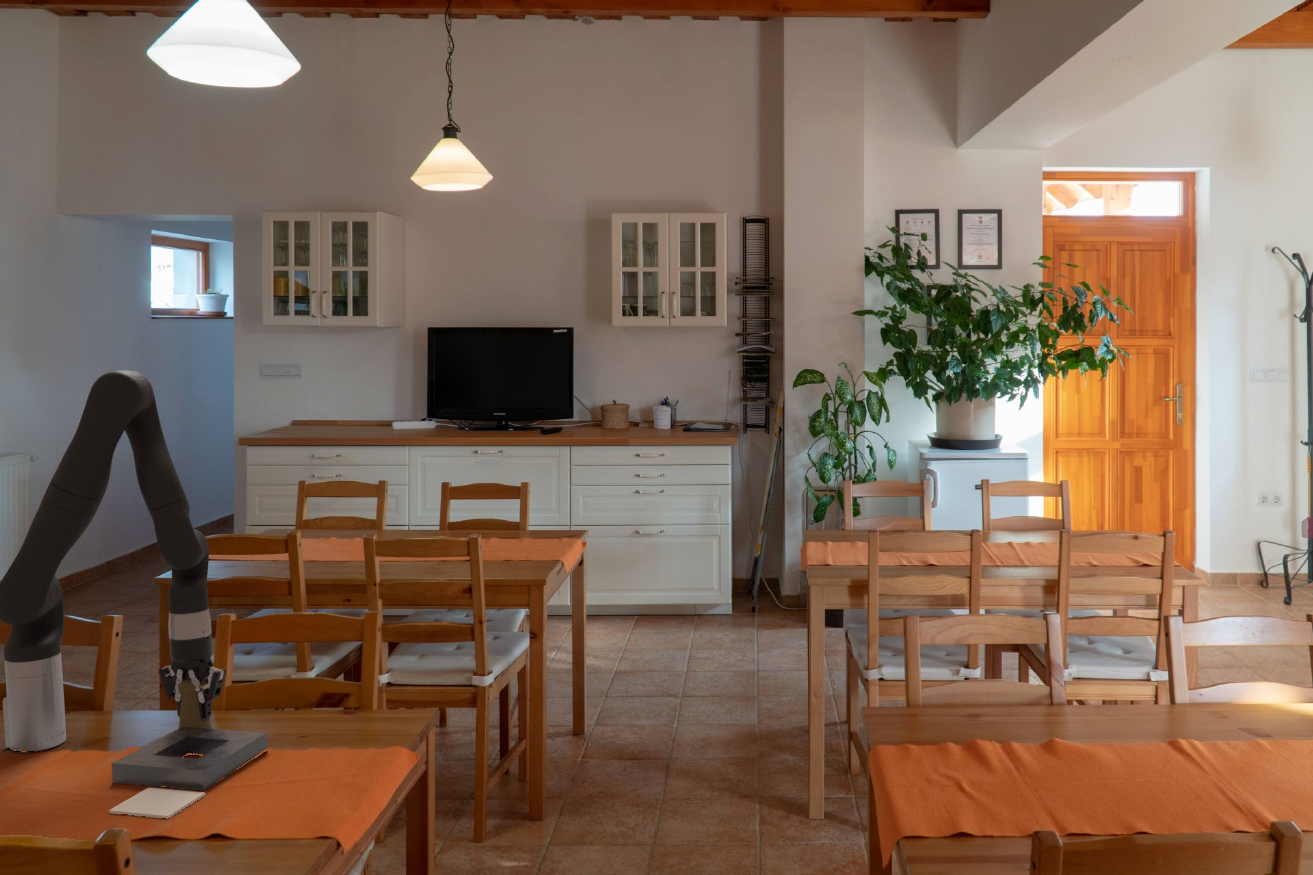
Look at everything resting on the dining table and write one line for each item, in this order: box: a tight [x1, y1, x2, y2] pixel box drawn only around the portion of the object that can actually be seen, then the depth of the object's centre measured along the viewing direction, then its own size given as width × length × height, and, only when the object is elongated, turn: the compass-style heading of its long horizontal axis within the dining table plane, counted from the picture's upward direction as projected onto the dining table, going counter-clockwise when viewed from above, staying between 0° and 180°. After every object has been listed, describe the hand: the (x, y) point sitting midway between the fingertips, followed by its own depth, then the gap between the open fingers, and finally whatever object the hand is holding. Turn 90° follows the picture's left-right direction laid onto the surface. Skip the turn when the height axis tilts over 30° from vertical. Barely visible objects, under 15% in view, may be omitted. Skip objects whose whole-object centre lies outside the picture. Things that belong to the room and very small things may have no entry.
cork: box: [178, 680, 213, 729], centre depth 201 cm, size 6×6×11 cm
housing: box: [111, 727, 268, 791], centre depth 184 cm, size 18×18×4 cm
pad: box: [108, 787, 206, 820], centre depth 168 cm, size 11×9×1 cm
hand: (194, 719), depth 201 cm, fingers closed on cork, 4 cm apart
